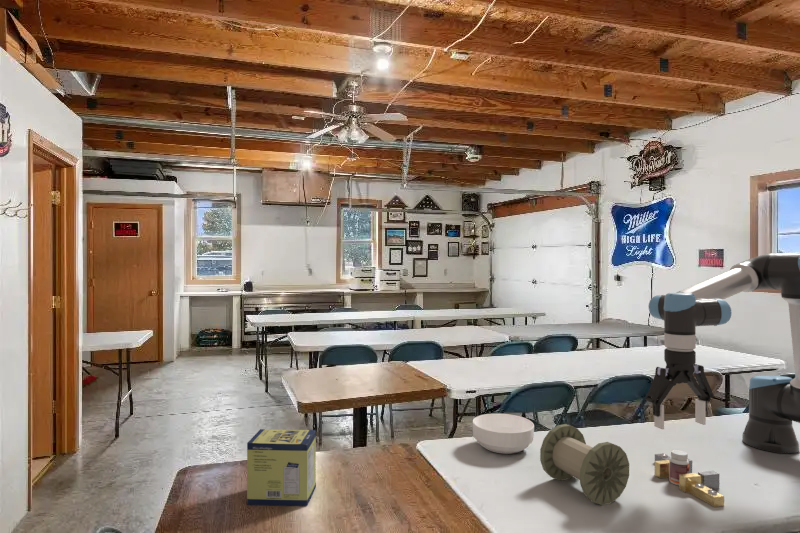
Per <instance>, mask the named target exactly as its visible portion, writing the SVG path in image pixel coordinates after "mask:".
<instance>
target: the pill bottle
mask: <svg viewBox="0 0 800 533" xmlns="http://www.w3.org/2000/svg"><path fill="white" fill-rule="evenodd" d="M669 457H670V459H669V477H668V479H669V483H671V484H673V485H676V486H679V474H688V473H689V461H688V460H687V459H689V457H688V452H686V451H684V450H679V449H672V450H671V451H670V456H669Z"/></svg>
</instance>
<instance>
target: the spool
mask: <svg viewBox="0 0 800 533" xmlns="http://www.w3.org/2000/svg"><path fill="white" fill-rule="evenodd" d="M539 450H540V451H539V454H540V455H539V457H540V458H539V459H540V460H539V462H540V464H541V466H542V470H543V471H544V472H545V473H546V474H547V475H548V476H549V477H550V478H552V479H555V480H558V481H566V480H569V479H571V478H576V479H577V480H579V484H580V487H581V490H582V494H584V495H585V496H586V498H587V500H589V501H591V502H592V503H594V504H597V505H600V506H604V505H607V504H612V503H614V502H615V501H616V500H617V499H619V498H620V497H621V495H622V494H623V492H624V490H625V489H626V487H627V485H628V481H629V477H630V461H629V458H628V455H627V453H626V451H625V450H623V448H622V447H621V446H619V445H618V444H615V443H612V442H609V441H605V442H600V443H597V444H596V445H594V446H590V445H588V444H587V443H586V440H585V436H584V434H583V433H582V432H581V431H580V430H579V429H578V428H577V427H575V426H573V425H570V424H567V423H564V424H558V425H556V426H554V427H553V428H552V429H550V430H549V431H548V433H547V434H546V436H544V438H543V440H542V443H541V446H540V449H539Z"/></svg>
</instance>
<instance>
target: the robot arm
mask: <svg viewBox="0 0 800 533" xmlns="http://www.w3.org/2000/svg"><path fill="white" fill-rule="evenodd" d="M755 290H778V291H779V290H780V295H781V298H782V300H785V302H787V303H788V313H789V323H790V325H789V326H790V335H791V343H792V345H791V346H792V356H793V366H794V378H792V377H789V376H785V375H784V376H782V375H756V376H752V377H750V379H749V384H748V420H747V423H746V424H745V427H744V431H743V432H742V442H743V443H744V444H746V445H748V446H750V447H752V448H755V449H757V450H758V449H759V450H762V451H766V452H770V453H778V454H797V453H798V452H799V451H800V443H799V441H798V438H797V435H796V432H795V430H794V427H793V422H795V423H798V424H800V252H781V253H780V252H771V253H766V254H761V255H757V256H755V257H754V256H753V257H752V258H749V259H746V260H744V261H741V262H739V263H737V264H734V265H733V266H731V268H730V269H729V270H728V271H725V272H723V273H720V274H718V275H716V276H713V277H711V278H707V279H706V280H703V281H701V282H698V283H696V284H694V285H690V286H689V287H686V288H683V289H681V290H679V291H677V292H668V293H666V294H665V295H664V294H661V295H660V294H659V295H654V296H652V297H651V298H650V300H649V303H648V310H649V313H650V315H651V316H652V317H653V318H655V319H657V320H658V319H659V320H662V321H663V323H664V324H663V325H664V330H663V331H664V333H663V334H664V337H663V338H664V342H663V344H664V345H663V346H664V347H665V348H664V351H663V355H664V357H663V358H664V362H665V364H666V365H665V367H660V366H656V367H655V372H654V377H653V379H652V382H651V383H650V387H649V389H648V392H647V393H646V396H645V401H646V402H649V403H651V404H652V416H654V418H653V419H654V427H655V428H657V429H660V430H665V405H664V404H662V403H663V402H664V401H665V399H666V397H667V396H668V394H669V393H670V392H671V390H672V388H673V387H675V386H676V385H678V384H683V383H684V384H687V385H688V387H689V388H690V389H691V390H692V392H693V394H695V395H696V397H697V398H695V402H694V404H695V406H694V407H695V408H694V409H695V411H694V413H695V416H694V419H695V423H697V424H699V425H702V426H705V425H706V423H707V422H706V420H707V419H706V414H707V411H708V402H711V399H713V398H714V397H715V396H714V393H713V390H712V387H711V386H710V384H709V380H708V379H707V377H706V373H705V368H704V365H700V364H696V363H697V362H696V361H697V358H696V357H697V356H696V350H695V349H696V346H697V345H696V342H697V341H696V331H697V330H696V327H704V326H705V327H710V326H714V327H717V326H721V325H725V324H726V323H729V321H730V320H731V318H732V308H731V306H730V304H729V303H728V302H727V301H726V300H725V299H727V298H730V297H733V296H734V295H738V294H740V293H742V292H743V293H750V292H753V291H755Z"/></svg>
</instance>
